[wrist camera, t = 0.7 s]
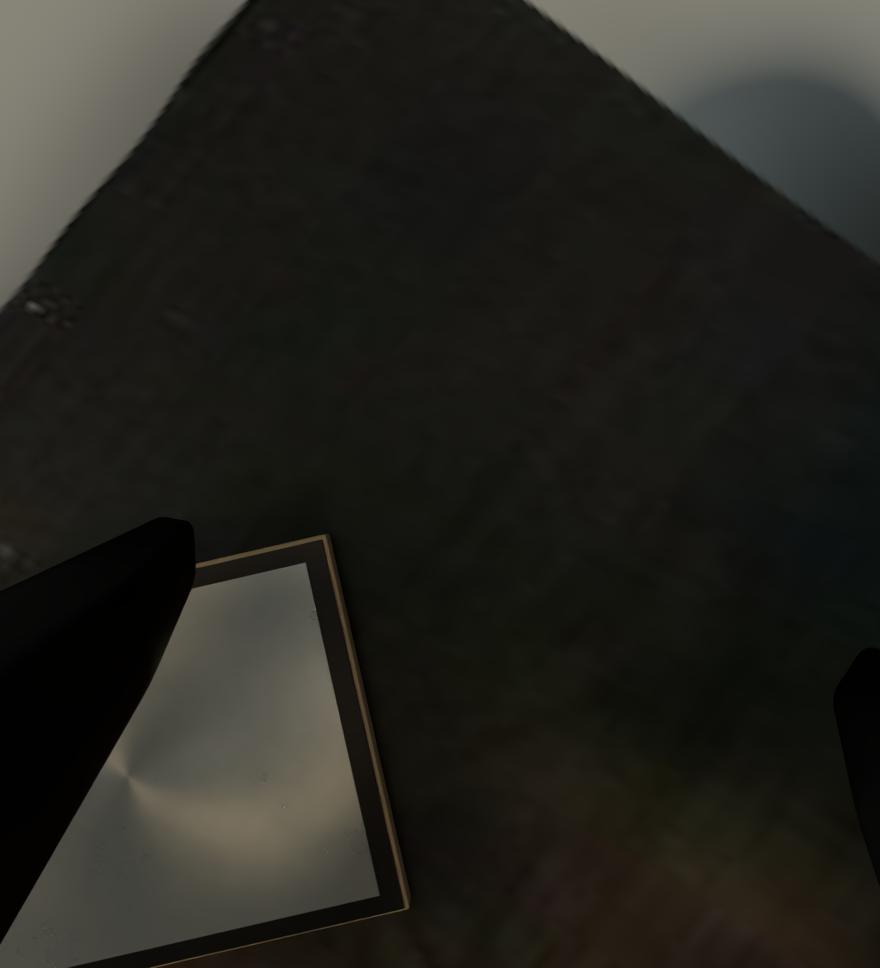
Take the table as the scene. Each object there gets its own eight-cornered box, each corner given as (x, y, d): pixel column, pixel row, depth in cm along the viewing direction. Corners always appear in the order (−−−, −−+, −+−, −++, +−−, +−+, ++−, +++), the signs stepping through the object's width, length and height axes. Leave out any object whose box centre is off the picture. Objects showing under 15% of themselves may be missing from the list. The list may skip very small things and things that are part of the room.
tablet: (411, 896, 24) (409, 913, 23) (-50, 1002, 24) (-72, 1024, 23) (329, 532, 24) (324, 533, 23) (-124, 637, 24) (-149, 643, 23)
